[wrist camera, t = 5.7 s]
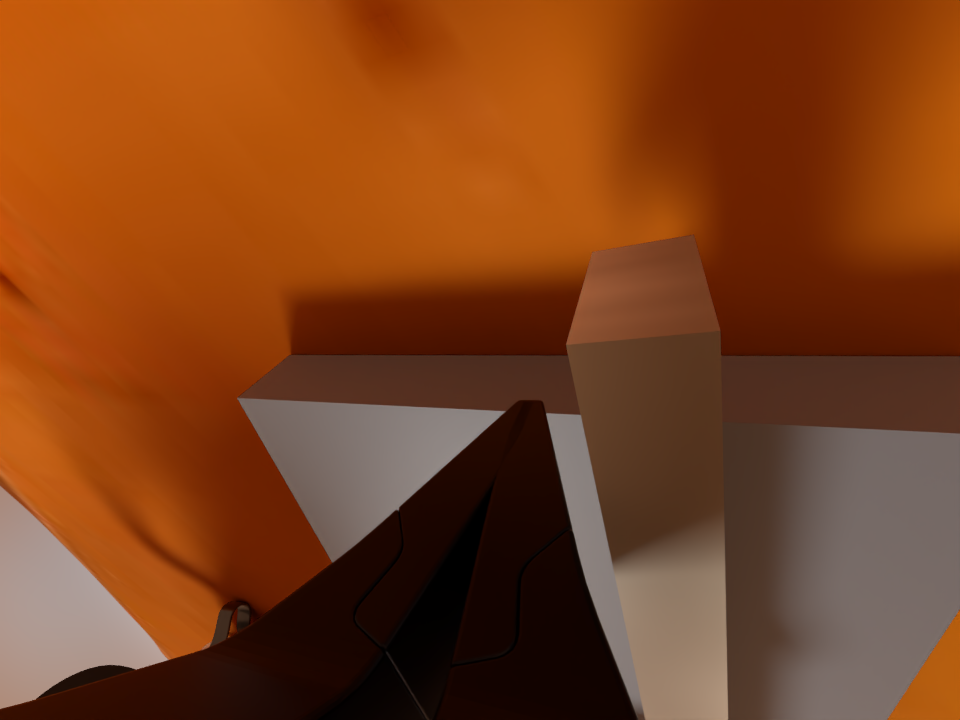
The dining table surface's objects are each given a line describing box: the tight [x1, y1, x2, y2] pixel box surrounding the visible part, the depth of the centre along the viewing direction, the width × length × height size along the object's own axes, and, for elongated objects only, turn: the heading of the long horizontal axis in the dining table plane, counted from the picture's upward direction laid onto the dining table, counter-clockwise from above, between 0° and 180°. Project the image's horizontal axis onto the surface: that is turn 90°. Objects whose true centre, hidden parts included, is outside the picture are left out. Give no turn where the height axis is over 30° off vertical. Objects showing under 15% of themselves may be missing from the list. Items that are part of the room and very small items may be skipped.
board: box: [237, 355, 960, 720], centre depth 16 cm, size 18×21×2 cm
